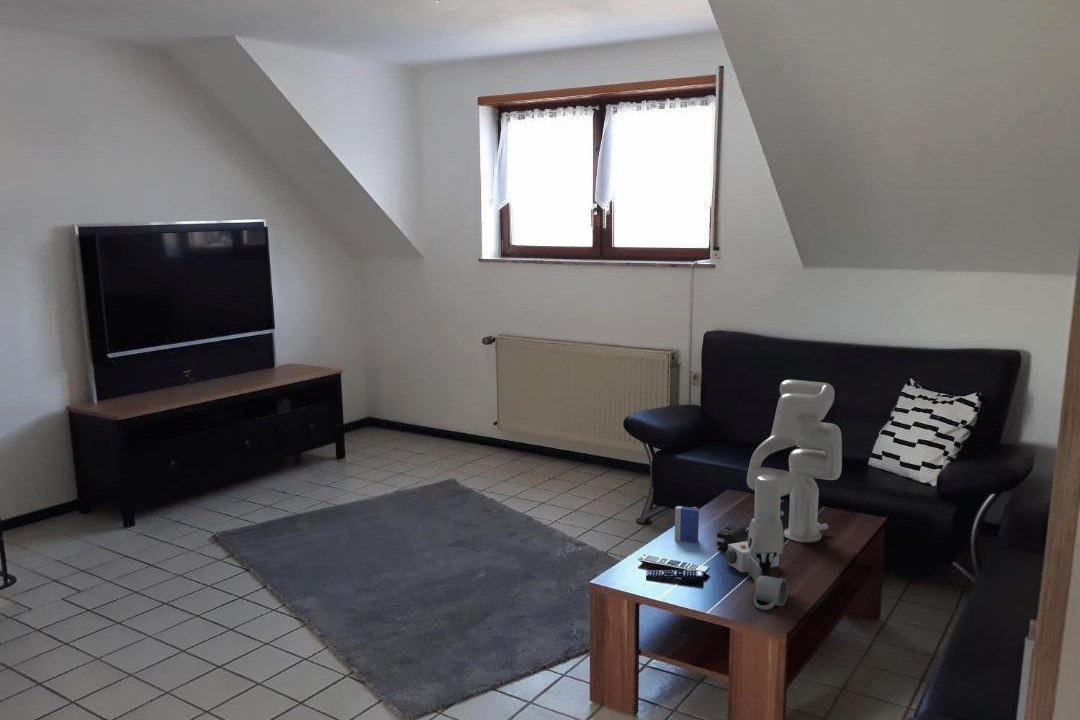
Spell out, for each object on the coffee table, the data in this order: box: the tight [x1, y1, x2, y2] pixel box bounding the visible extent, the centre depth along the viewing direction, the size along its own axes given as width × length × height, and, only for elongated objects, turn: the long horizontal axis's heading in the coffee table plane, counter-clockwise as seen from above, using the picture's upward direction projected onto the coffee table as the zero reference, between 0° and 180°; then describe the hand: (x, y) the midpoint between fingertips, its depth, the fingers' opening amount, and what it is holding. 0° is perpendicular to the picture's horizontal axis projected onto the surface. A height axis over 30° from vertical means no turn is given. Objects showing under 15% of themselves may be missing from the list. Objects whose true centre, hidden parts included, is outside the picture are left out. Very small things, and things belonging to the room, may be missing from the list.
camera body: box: [724, 540, 780, 573], centre depth 276 cm, size 16×8×7 cm, turn 111°
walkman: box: [674, 505, 700, 544], centre depth 298 cm, size 8×3×12 cm, turn 68°
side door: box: [746, 554, 763, 581], centre depth 265 cm, size 12×1×6 cm, turn 4°
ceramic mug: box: [753, 575, 789, 611], centre depth 248 cm, size 11×8×8 cm
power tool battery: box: [716, 525, 749, 553], centre depth 291 cm, size 10×7×7 cm
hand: (764, 572), depth 264 cm, fingers closed
